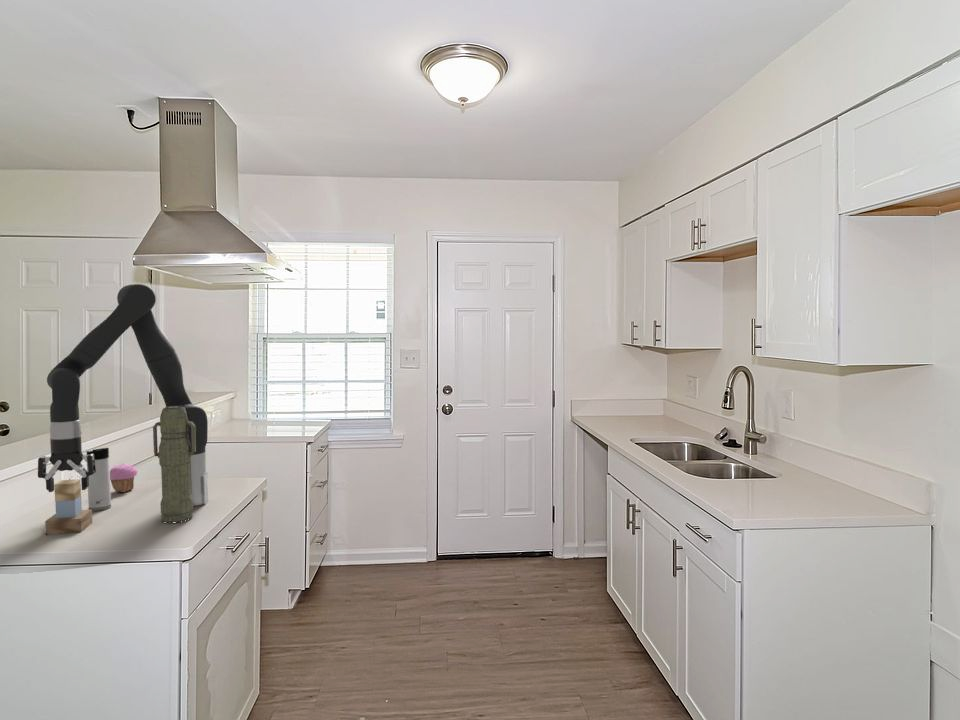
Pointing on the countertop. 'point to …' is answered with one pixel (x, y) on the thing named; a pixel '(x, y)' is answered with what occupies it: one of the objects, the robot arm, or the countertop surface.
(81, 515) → the walnut plinth
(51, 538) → the countertop surface
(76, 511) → the slate block
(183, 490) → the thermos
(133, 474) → the cupcake
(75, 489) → the oak block
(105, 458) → the travel mug
